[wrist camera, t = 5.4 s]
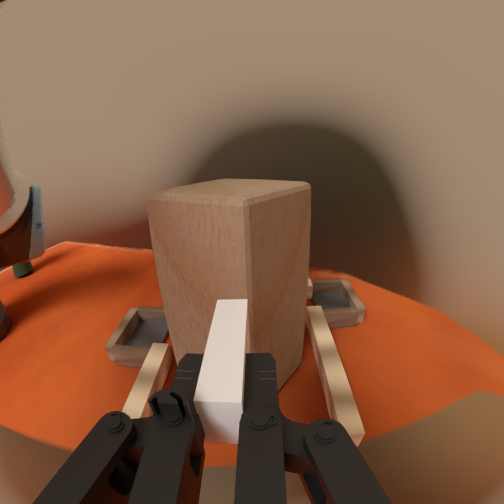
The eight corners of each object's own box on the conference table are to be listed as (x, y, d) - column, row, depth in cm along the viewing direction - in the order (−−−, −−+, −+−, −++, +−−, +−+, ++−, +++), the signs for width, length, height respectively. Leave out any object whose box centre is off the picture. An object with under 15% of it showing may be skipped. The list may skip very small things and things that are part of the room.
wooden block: (253, 422, 22) (243, 198, 15) (179, 379, 28) (143, 193, 21) (302, 362, 30) (313, 182, 23) (234, 336, 35) (223, 178, 28)
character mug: (43, 268, 58) (33, 221, 53) (29, 279, 51) (16, 229, 47) (19, 269, 57) (9, 226, 53) (6, 279, 51) (-7, 233, 46)
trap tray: (416, 431, 18) (446, 382, 16) (73, 427, 19) (41, 380, 16) (336, 276, 51) (339, 241, 48) (161, 280, 52) (156, 246, 49)
